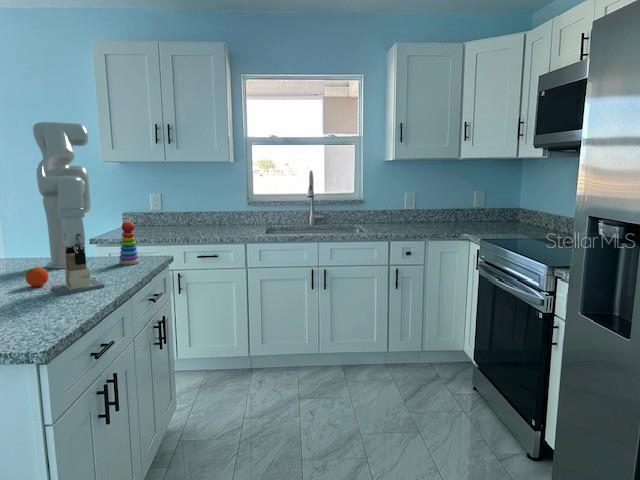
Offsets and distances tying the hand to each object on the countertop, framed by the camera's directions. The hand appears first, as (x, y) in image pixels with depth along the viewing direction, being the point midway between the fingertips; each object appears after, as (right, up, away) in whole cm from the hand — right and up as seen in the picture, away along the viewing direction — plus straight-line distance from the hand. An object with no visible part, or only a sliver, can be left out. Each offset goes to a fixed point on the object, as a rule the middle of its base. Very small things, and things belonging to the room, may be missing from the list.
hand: (76, 262), depth 154 cm
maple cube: (0, -8, +2) cm, 8 cm away
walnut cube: (0, -2, 0) cm, 2 cm away
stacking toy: (+1, -3, +41) cm, 41 cm away
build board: (0, -9, +2) cm, 9 cm away
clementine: (-16, -9, +3) cm, 19 cm away
